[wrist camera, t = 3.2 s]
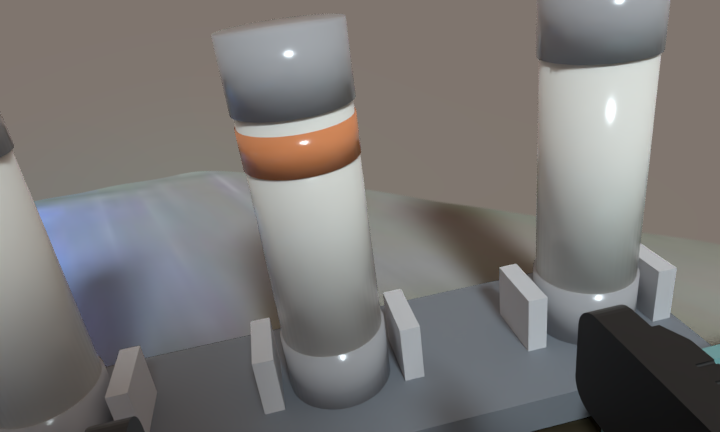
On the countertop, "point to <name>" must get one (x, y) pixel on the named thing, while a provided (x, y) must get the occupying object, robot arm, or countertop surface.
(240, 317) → the countertop surface
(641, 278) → the fuse board
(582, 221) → the fuse
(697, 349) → the robot arm
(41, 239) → the fuse
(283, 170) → the fuse marked
